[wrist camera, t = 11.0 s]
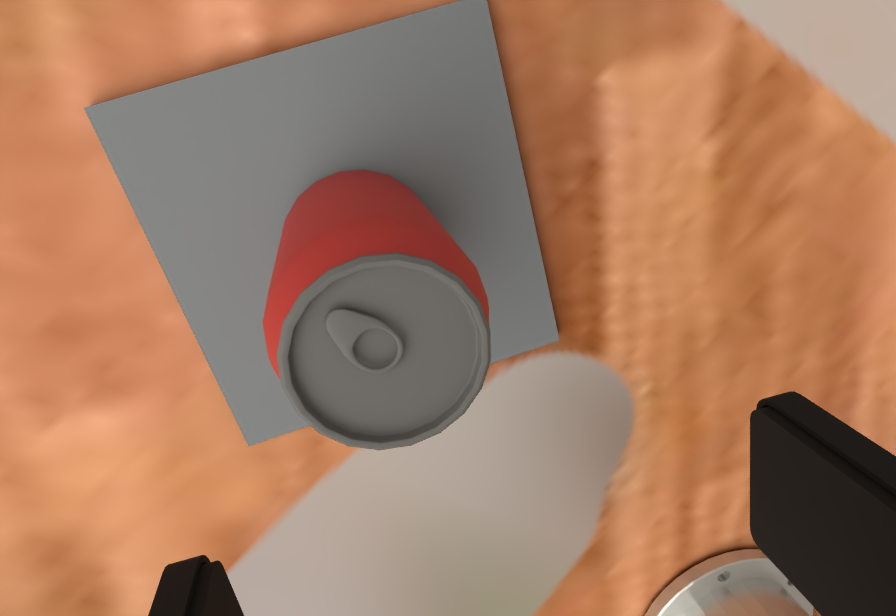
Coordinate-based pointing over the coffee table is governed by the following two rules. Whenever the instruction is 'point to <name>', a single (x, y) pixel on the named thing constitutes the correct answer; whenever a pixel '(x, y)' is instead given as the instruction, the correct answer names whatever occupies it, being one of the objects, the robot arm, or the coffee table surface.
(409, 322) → the beer can
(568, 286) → the coffee table surface
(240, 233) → the slate mat
